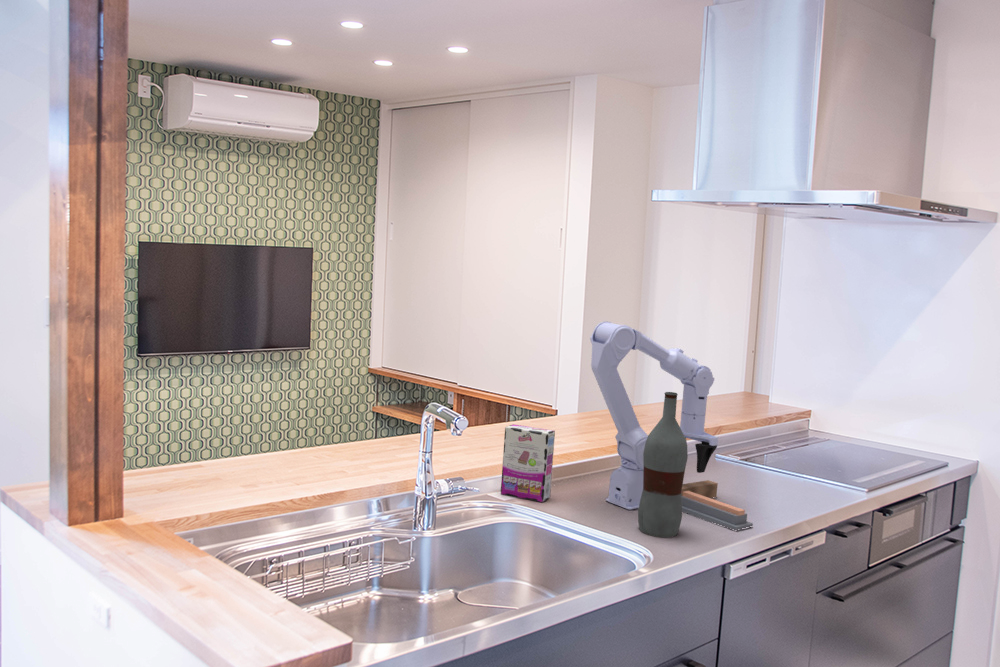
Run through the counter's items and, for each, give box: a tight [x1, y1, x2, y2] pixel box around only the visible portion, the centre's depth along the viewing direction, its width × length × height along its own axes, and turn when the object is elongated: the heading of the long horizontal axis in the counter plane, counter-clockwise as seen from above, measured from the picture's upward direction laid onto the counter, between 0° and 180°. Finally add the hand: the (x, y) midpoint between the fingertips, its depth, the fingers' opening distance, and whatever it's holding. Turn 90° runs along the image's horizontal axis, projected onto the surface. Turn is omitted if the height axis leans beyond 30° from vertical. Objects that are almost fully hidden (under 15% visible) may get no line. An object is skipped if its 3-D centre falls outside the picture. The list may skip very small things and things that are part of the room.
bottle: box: [637, 391, 689, 538], centre depth 175 cm, size 9×9×30 cm
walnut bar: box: [681, 479, 719, 499], centre depth 201 cm, size 20×3×4 cm, turn 126°
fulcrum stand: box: [682, 491, 754, 530], centre depth 189 cm, size 6×18×4 cm, turn 37°
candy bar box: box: [500, 424, 556, 503], centre depth 194 cm, size 11×5×16 cm, turn 65°
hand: (688, 468), depth 201 cm, fingers open, 7 cm apart
